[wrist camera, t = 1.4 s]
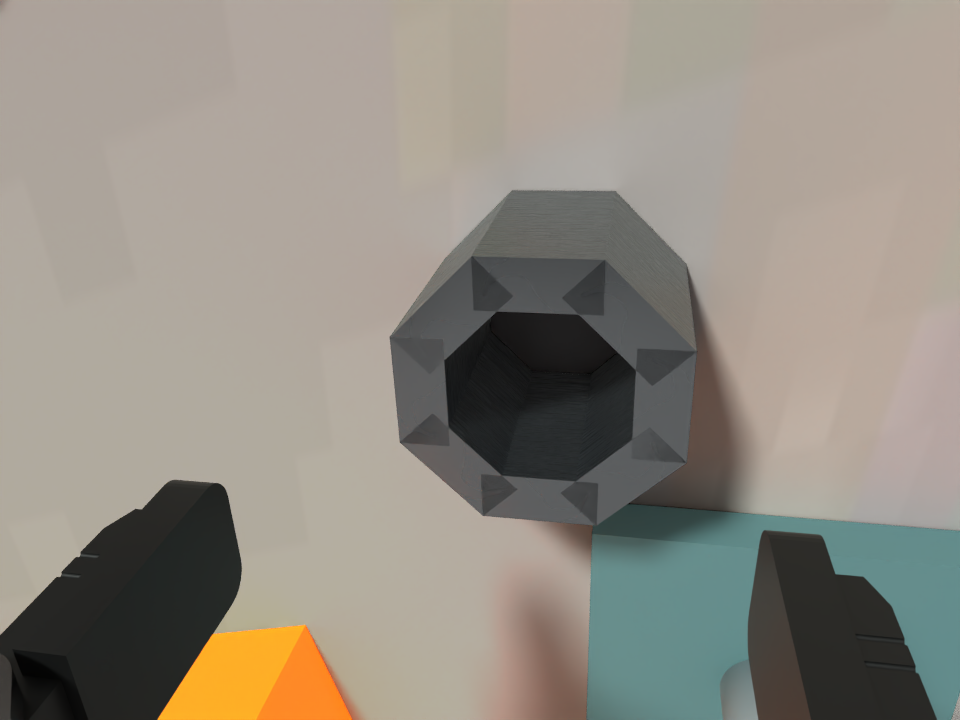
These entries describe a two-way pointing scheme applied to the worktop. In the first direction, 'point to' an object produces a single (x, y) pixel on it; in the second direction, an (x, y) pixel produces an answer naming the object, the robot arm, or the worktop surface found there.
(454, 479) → the tube
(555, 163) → the worktop surface
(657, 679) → the shaft stand
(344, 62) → the worktop surface
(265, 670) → the orange juice
